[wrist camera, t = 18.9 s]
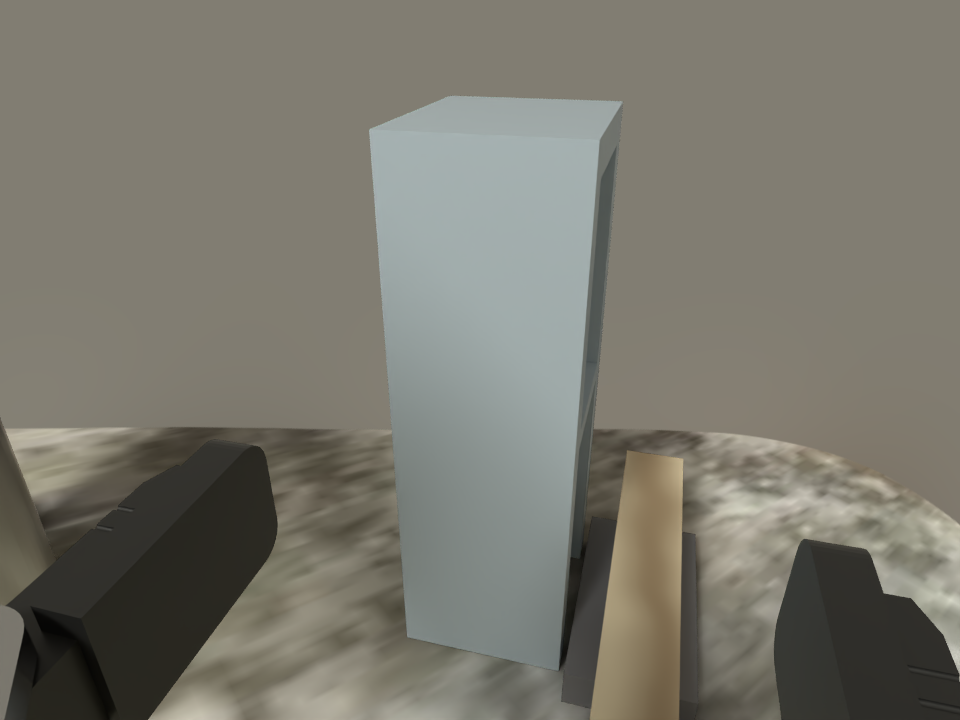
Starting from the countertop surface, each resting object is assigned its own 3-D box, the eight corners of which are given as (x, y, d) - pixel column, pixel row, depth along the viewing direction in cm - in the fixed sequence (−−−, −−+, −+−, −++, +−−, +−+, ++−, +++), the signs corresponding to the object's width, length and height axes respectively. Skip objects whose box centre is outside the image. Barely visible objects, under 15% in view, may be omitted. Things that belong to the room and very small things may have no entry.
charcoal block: (561, 701, 41) (563, 673, 39) (589, 541, 53) (592, 516, 51) (691, 732, 39) (698, 703, 38) (690, 559, 51) (695, 534, 50)
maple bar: (576, 823, 32) (583, 759, 30) (620, 503, 53) (627, 450, 50) (663, 847, 31) (677, 783, 29) (674, 512, 52) (683, 458, 49)
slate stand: (407, 637, 45) (369, 129, 30) (459, 518, 55) (450, 95, 40) (558, 671, 42) (599, 139, 27) (583, 540, 53) (623, 101, 38)
